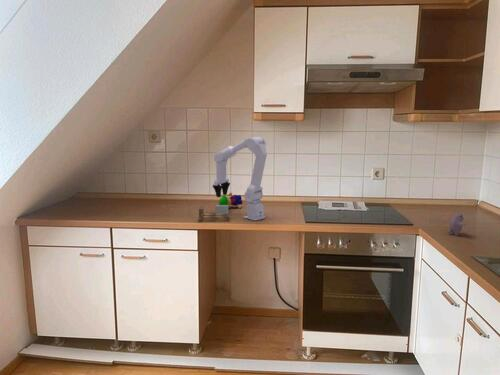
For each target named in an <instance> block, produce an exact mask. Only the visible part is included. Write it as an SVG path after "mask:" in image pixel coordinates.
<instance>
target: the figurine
mask: <svg viewBox="0 0 500 375" xmlns="http://www.w3.org/2000/svg"><path fill="white" fill-rule="evenodd" d="M464 219H465V216H464V215H463V213H460V212H456V213H455V214H454V215H453V216H452V217H451V218H450V219H449V222H448V223H449V224H448V225H449V228H450V229H448V230H447V233H448V234H454V235H455V236H457V237H459V234H460V232H461V231H462V230H463V227H466V226H467V225H466V223H465V222H463V221H464Z"/></svg>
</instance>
